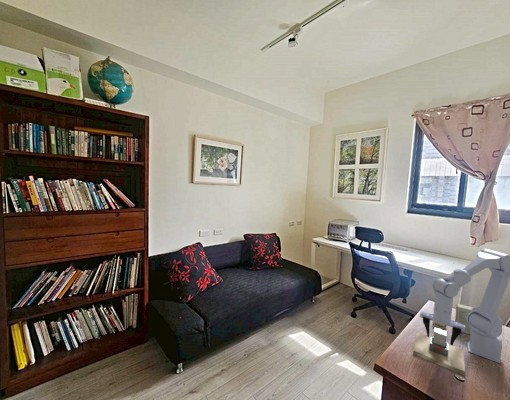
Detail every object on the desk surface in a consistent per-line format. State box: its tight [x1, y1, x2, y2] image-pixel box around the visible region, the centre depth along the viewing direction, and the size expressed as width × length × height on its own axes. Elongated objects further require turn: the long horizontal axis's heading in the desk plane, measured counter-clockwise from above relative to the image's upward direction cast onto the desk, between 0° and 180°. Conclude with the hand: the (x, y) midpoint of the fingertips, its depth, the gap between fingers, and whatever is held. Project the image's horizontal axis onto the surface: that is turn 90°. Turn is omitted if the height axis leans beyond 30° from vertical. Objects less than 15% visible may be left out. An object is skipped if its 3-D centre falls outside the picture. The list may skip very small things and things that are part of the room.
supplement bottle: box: [432, 321, 448, 329], centre depth 117 cm, size 5×5×10 cm
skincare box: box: [454, 303, 474, 335], centre depth 114 cm, size 6×4×12 cm
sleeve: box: [429, 336, 449, 357], centre depth 97 cm, size 6×7×3 cm
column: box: [433, 327, 447, 348], centre depth 97 cm, size 4×4×8 cm
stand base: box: [412, 332, 466, 376], centre depth 97 cm, size 16×16×2 cm
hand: (439, 339), depth 97 cm, fingers open, 7 cm apart
